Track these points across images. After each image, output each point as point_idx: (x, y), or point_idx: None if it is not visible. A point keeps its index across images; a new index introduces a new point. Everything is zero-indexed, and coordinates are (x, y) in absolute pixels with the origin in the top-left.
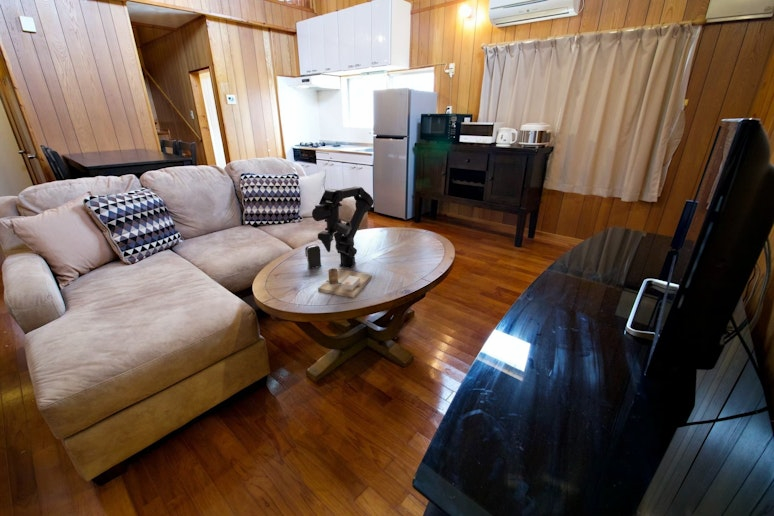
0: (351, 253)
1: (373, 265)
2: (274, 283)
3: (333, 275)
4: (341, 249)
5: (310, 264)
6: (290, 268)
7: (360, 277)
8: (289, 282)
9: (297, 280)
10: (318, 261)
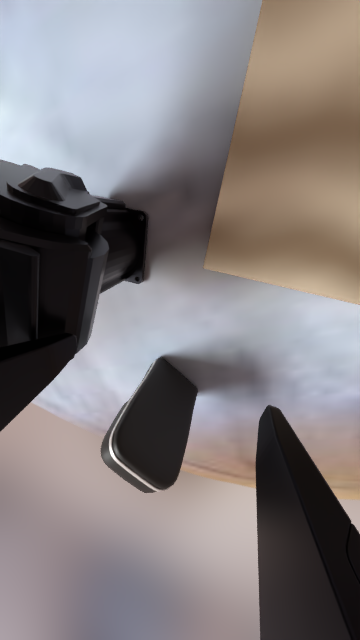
0: (80, 195)
1: (64, 37)
2: (322, 470)
3: None
4: (93, 296)
5: (191, 401)
6: (200, 437)
7: (353, 16)
8: (319, 436)
9: (302, 415)
10: (161, 379)
